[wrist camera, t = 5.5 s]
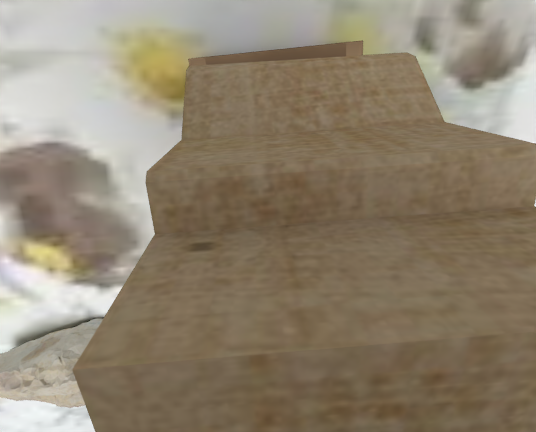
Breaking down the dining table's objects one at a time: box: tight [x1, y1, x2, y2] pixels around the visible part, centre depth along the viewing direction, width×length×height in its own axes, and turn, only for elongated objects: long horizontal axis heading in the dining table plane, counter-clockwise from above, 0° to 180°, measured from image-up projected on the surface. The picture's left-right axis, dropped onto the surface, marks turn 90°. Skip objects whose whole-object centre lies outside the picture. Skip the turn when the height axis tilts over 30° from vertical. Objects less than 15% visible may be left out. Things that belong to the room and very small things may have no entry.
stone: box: [0, 318, 103, 408], centre depth 26 cm, size 8×12×10 cm, turn 94°
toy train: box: [72, 53, 536, 432], centre depth 9 cm, size 6×17×10 cm, turn 4°
